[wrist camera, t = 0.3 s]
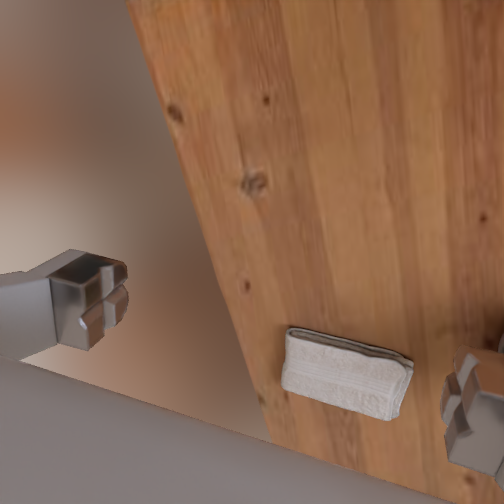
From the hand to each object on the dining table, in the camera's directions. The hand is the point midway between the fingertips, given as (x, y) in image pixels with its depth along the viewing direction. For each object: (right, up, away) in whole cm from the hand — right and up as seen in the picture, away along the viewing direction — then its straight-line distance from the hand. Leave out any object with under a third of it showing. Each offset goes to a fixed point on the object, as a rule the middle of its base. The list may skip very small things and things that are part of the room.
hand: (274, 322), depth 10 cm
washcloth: (+13, -15, +51) cm, 55 cm away
